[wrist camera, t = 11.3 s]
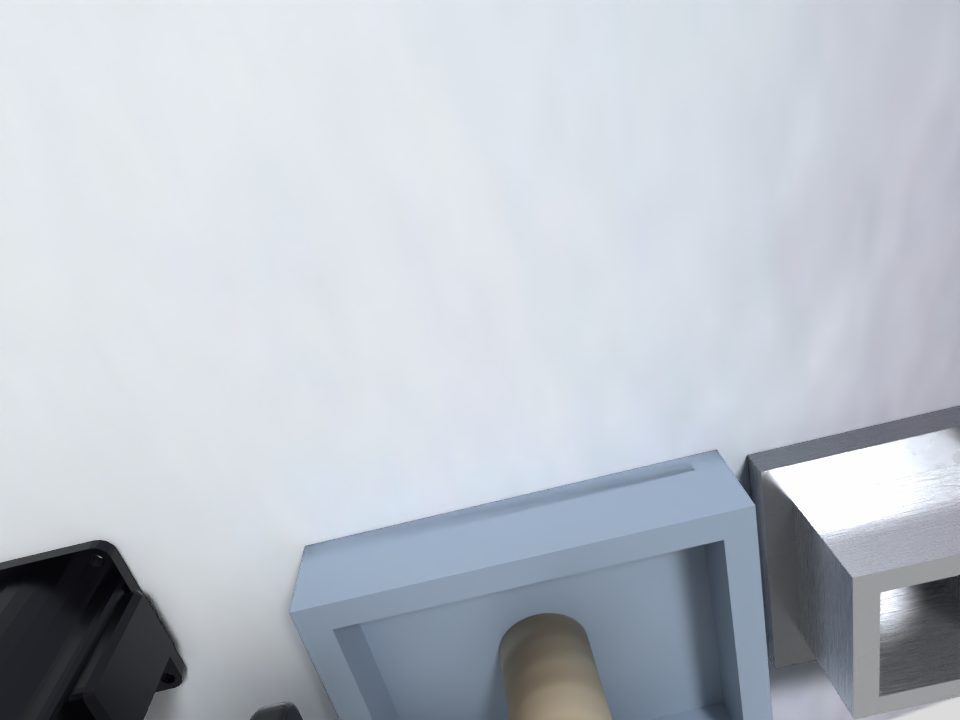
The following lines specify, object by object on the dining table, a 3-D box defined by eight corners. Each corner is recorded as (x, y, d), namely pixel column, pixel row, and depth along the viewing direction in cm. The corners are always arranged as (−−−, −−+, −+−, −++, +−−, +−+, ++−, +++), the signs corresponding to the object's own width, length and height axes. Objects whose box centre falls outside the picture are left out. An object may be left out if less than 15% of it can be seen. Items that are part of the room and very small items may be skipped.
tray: (404, 771, 29) (401, 849, 26) (305, 546, 24) (289, 612, 21) (743, 697, 28) (776, 767, 25) (716, 449, 23) (755, 505, 20)
